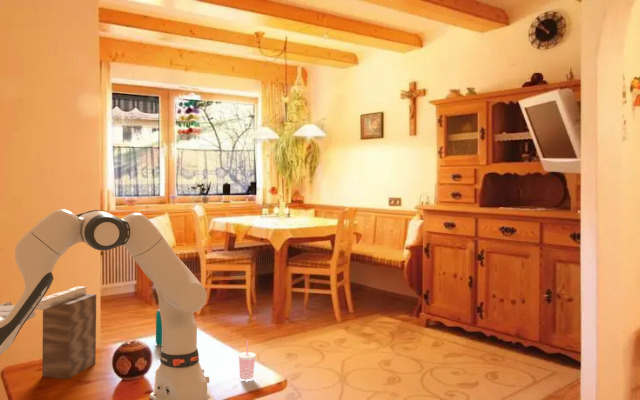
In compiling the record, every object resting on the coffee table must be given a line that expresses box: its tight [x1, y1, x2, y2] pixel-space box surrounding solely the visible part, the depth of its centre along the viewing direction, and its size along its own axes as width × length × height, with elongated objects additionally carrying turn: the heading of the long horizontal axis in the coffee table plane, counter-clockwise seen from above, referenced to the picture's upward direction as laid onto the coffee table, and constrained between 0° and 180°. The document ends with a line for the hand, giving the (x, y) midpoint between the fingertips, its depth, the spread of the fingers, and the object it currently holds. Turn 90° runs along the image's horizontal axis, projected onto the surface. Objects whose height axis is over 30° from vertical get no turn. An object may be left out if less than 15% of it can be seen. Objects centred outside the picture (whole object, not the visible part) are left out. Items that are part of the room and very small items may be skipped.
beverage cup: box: [238, 340, 257, 380], centre depth 186 cm, size 6×6×14 cm
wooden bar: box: [35, 285, 87, 311], centre depth 185 cm, size 24×3×3 cm, turn 171°
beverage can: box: [155, 308, 162, 347], centre depth 222 cm, size 6×6×15 cm
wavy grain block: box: [41, 293, 97, 380], centre depth 190 cm, size 16×10×26 cm, turn 171°
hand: (21, 303), depth 165 cm, fingers open, 8 cm apart
